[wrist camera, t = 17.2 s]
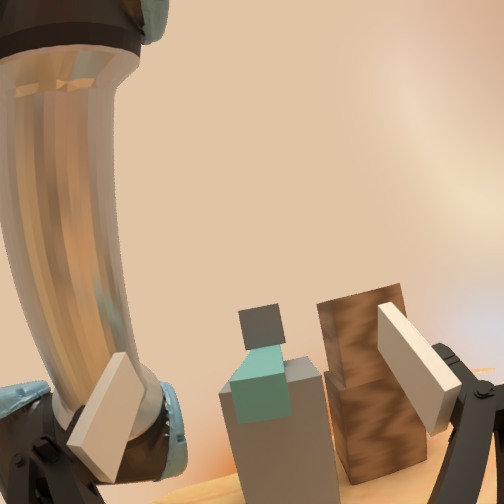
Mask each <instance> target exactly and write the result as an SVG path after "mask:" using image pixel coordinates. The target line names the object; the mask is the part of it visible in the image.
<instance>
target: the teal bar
mask: <svg viewBox="0 0 504 504" xmlns="http://www.w3.org/2000/svg"><path fill="white" fill-rule="evenodd" d="M238 313H239V318H240V324H241V329H242V334H243V339H244V344H245V349H246V350H251V349H252V350H251V351H250V353H249V354H248V356H247V357H246V358H245V360H244V361H243V363H242V364H241V366H240V367H239V368H238V370H237V371H236V373H235V374H234V375H233V377H232V378H231V380H230V381H229V384H230V388H231V393H232V398H233V402H234V407H235V411H236V416H237V420H238V424H244V423H251V422H258V421H265V420H271V419H277V418H282V417H288V416H293V414H292V408H291V402H290V396H289V391H288V385H287V379H286V374H285V368H284V363H283V357H282V352H281V347H280V344H282V343H286V342H285V336H284V331H283V326H282V321H281V316H280V310H279V305H278V304H273V305H267V306H262V307H257V308H252V309H247V310H241V311H239V312H238Z"/></svg>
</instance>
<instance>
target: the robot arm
mask: <svg viewBox="0 0 504 504" xmlns="http://www.w3.org/2000/svg"><path fill="white" fill-rule="evenodd" d="M168 10H169V0H0V222H1V227H2V233H3V238H4V243H5V247H6V252H7V255H8V260H9V264H10V268H11V272H12V276H13V279H14V283H15V286H16V290H17V293H18V296H19V299H20V303H21V306H22V309H23V311H24V314H25V317H26V320H27V323H28V326H29V328H30V331H31V334H32V336H33V339H34V341H35V344H36V346H37V348H38V351H39V353H40V356H41V358H42V360H43V363H44V365H45V367H46V369H47V371H48V373H49V376H50V378H51V380H52V382H53V384H54V386H55V389H54V392H53V393H51V392H50V391H51V388H50V387H49V385H48V383H47V382H46V381H43V380H42V381H33V382H27V383H21V384H16V385H11V386H6V387H2V388H0V492H1V493H2V496H3V498H4V500H5V502H6V504H105V502H104V500H103V498H102V496H101V495H100V493H99V491H98V489H97V487H96V485H115V484H127V483H138V482H146V481H154V482H159V481H161V480H163V479H166V478H171V477H176V476H179V475H181V474H182V473H183V472H184V471H185V469H186V467H187V463H188V452H187V443H186V439H185V436H184V424H183V419H182V414H181V410H180V406H179V402H178V399H177V396H176V393H175V391H174V389H173V387H172V386H171V385H170V384H169V383H167V382H160V381H158V379H157V378H156V376H155V375H154V373H153V372H152V371H151V370H150V369H149V368H147V367H146V366H145V365H143V364H141V363H140V362H139V358H138V353H137V349H136V344H135V339H134V335H133V330H132V324H131V319H130V314H129V308H128V303H127V296H126V290H125V284H124V277H123V270H122V262H121V254H120V245H119V236H118V226H117V215H116V200H115V182H114V155H113V154H114V152H113V151H114V149H113V122H114V119H113V118H114V95H115V92H116V89H117V87H118V86H119V85H120V84H121V83H122V82H123V81H124V80H125V79H126V78H127V77H128V76H129V75H130V74H131V73H132V72H134V71H135V70H136V69H137V68H138V67H139V63H140V51H141V44H142V45H149V44H151V43H152V42H156V41H158V40H160V39H161V38H162V36H163V34H164V32H165V27H166V23H167V18H168ZM377 349H378V350H379V352H380V353H381V355H382V356H383V358H384V360H385V361H386V363H387V364H388V366H389V368H390V369H391V371H392V372H393V374H394V376H395V377H396V379H397V381H398V382H399V384H400V385H401V387H402V389H403V390H404V392H405V394H406V395H407V397H408V399H409V400H410V402H411V404H412V405H413V407H414V409H415V410H416V412H417V414H418V416H419V417H420V419H421V421H422V422H423V424H424V426H425V428H426V429H427V431H428V433H429V435H430V436H431V437H432V436H434V435H436V434H438V433H440V432H443V431H445V430H446V429H447V427H448V424H449V422H451V424H452V425H453V427H454V428H453V431H452V433H451V435H450V438H449V440H448V442H449V444H448V448H447V451H446V454H445V457H444V460H443V463H442V466H441V469H440V472H439V475H438V478H437V480H436V483H435V486H434V488H433V491H432V493H431V496H430V498H429V501H428V503H427V504H476V502H477V499H478V496H479V492H480V489H481V485H482V481H483V477H484V473H485V469H486V465H487V460H488V455H489V450H490V445H491V439H492V433H493V432H494V439H495V450H496V467H497V504H504V384H502V385H497V386H494V385H493V384H492V383H490V382H489V381H485V380H478V379H477V378H476V377H475V376H474V375H473V373H472V372H471V371H470V370H469V369H468V368H467V367H466V366H465V364H464V363H463V362H462V361H460V359H459V358H458V357H457V356H456V355H455V353H454V352H453V351H452V350H451V349H450V348H449V347H447V346H445V345H444V344H442V343H438V344H435V345H432V346H430V345H429V343H427V341H426V340H425V339H424V338H423V337H422V336H421V334H420V333H419V332H418V331H417V330H416V329H415V327H413V326H412V324H411V323H410V322H409V321H408V320H407V319H406V317H405V316H404V315H403V314H402V313H401V312H400V311H399V310H398V309H397V308H396V306H395V305H394V304H393V303H392V302H388V303H385V304H381V305H378V348H377Z"/></svg>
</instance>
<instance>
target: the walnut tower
mask: <svg viewBox="0 0 504 504" xmlns="http://www.w3.org/2000/svg"><path fill="white" fill-rule="evenodd" d="M388 302H392V303H393V304H394V305H395V306H396V308H397V309H398V310H399V311H400V312H401V313H402V314H403V315H404V316H405V317H406V319H407V316H406V311H405V306H404V301H403V296H402V291H401V287H400V283H398V284H394V285H390V286H387V287H383V288H379V289H375V290H371V291H367V292H363V293H359V294H355V295H351V296H347V297H342V298H338V299H334V300H330V301H326V302H323V303H319V304H317V309H318V314H319V319H320V324H321V329H322V334H323V340H324V345H325V350H326V356H327V361H328V366H329V371H326V372H324V377H325V383H326V389H327V395H328V400H329V407H330V413H331V419H332V426H333V432H334V439H335V446H336V451H337V453H338V455H339V457H340V460H341V462H342V464H343V466H344V469H345V471H346V473H347V475H348V478H349V480H350V482H351V484H352V485H355V484H359V483H362V482H366V481H369V480H372V479H375V478H378V477H381V476H384V475H387V474H390V473H393V472H396V471H398V470H401V469H404V468H406V467H409V466H412V465H414V464H416V463H419V462H421V461H424V460H426V459H427V441H426V428H425V426H424V424H423V422H422V421H421V419H420V417H419V416H418V414H417V412H416V410H415V409H414V407H413V405H412V404H411V402H410V400H409V399H408V397H407V395H406V394H405V392H404V390H403V389H402V387H401V385H400V384H399V382H398V381H397V379H396V377H395V376H394V374H393V372H392V371H391V369H390V368H389V366H388V364H387V363H386V361H385V360H384V358H383V356H382V355H381V353H380V352H379V350H378V349H377V348H378V305H381V304H385V303H388Z"/></svg>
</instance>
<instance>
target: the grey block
mask: <svg viewBox="0 0 504 504" xmlns="http://www.w3.org/2000/svg"><path fill="white" fill-rule="evenodd" d="M283 363H284V368H285V374H286V379H287V385H288V391H289V396H290V402H291V408H292V414H293V416H288V417H282V418H277V419H271V420H265V421H258V422H251V423H244V424H238V420H237V416H236V411H235V407H234V402H233V398H232V393H231V388H230V384H229V381H230V380H231V378H232V377H233V375H234V374H235V373H236V371H237V370H238V369H237V370H236V371H235V373H234V374H233V375H232V376H231V378H230V379H229V380H228V382H227V383H226V384H225V386H224V387H223V388H222V390H221V391H220V392H219V398H220V402H221V407H222V411H223V416H224V419H225V423H226V428H227V432H228V436H229V440H230V445H231V448H232V453H233V457H234V461H235V464H236V468H237V472H238V476H239V480H240V483H241V487H242V490H243V494H244V498H245V501H246V504H341V502H340V494H339V486H338V478H337V470H336V463H335V456H334V449H333V442H332V436H331V429H330V423H329V417H328V411H327V404H326V398H325V392H324V387H323V381H322V375H321V374H320V372H319V371H318V370H317V368H316V367H315V366H314V365H313V363H312V362H311V361H310V359H309V358H308V357H307V356H306V357H301V358H297V359H292V360H287V361H283Z"/></svg>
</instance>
